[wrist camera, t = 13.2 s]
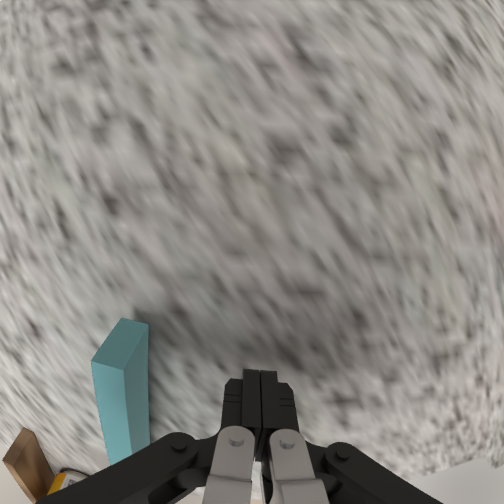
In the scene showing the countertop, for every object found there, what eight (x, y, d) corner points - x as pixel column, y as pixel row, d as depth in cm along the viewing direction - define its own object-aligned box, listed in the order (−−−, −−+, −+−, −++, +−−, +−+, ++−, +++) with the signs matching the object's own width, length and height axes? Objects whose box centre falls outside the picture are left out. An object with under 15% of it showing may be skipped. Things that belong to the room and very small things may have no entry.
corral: (10, 395, 18) (-16, 429, 14) (179, 453, 19) (169, 503, 14) (55, 489, 23) (43, 516, 18) (177, 527, 23) (172, 559, 19)
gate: (165, 321, 15) (136, 384, 10) (163, 481, 19) (153, 529, 14) (112, 309, 15) (69, 364, 10) (129, 472, 19) (114, 518, 14)
